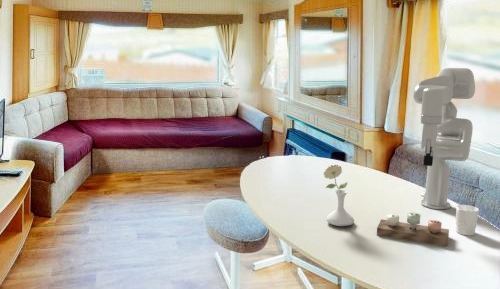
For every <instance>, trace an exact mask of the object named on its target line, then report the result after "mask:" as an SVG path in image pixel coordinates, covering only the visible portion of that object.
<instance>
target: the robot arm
mask: <svg viewBox="0 0 500 289" xmlns="http://www.w3.org/2000/svg"><path fill="white" fill-rule="evenodd" d="M475 93H476V83H475V76H474V73H473V71H472V70H471V69H470V68H466V67H465V68H464V67H447V68H443V69H441V70H440V71H439V72H437V75H436V76H433V77H431V78H426V79H424V80H421V81H420V82H419V83H417V85H416V86H415V88H414V90H413V100H414V102H415V103H416V104H421V113H420V124H421V125H423V126H422V129H421V130H422V132H421V142H420V149H421V150H423V149H424V155H423V166H424V167H425V166H427V168H426V169H427V171H426V182H425V191H423V192H421V193H420V196H421V197H422V199H421V201H420V204H421V205H422V206H423V207H425V208H428V209H434V210H448V209H450V208H451V203H450V202H449V201H448V194H449V186H450V185H449V184H450V174H451V173H450V172H451V170H450V169H451V168H450V166H449V164H448V163H447V162H446V161H453V162H465V161H467V160H468V159H469V155H470V152H471V151H470V150H471V146H472V145H471V144H472V138H473V127H474V126H473V122H472V121H471V120H470V119H468V118H459V117H458V118H457V116H458V109H457V106H456V105H455V104H454V102H452V99H454V100H455V99H457V100H470V99H472V98H473V97H474V95H475Z"/></svg>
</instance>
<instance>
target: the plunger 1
mask: <svg viewBox="0 0 500 289" xmlns="http://www.w3.org/2000/svg"><path fill="white" fill-rule="evenodd" d="M386 220H387V221H386V223H387V224H388V225H391V226H392V227H394V226H397V225H399V222H400V216H399V215H397V214H396V213H395V214H394V213H393V214H392V213H389V214H387V215H386Z"/></svg>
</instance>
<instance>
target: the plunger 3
mask: <svg viewBox="0 0 500 289" xmlns="http://www.w3.org/2000/svg"><path fill="white" fill-rule="evenodd" d="M427 223H428V224H427V226H428V230H429V231H432V233H436V232H441V228H442V222H441V221H440V220H435V219H430V220H428V221H427Z"/></svg>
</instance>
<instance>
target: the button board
mask: <svg viewBox="0 0 500 289" xmlns="http://www.w3.org/2000/svg"><path fill="white" fill-rule="evenodd" d="M386 221H387V219H382V218H381V219H380V221H379V223H378V226H376V236H378V237H386V238H392V239H399V240H404V241H409V242H410V241H411V242H416V243H423V244H428V245H434V244H435V246H440V245H442V247H446V246H447V247H449V236H450V234H449V233H450V229H449V228H443V227H441V232H436V233H432V231H429V230H428V225H421V224H415V230H412V229H411V224H410V223H408V222H403V221H402V222H401V221H399V225H397V226H394V227H392V226H391V225H388V224H387V223H386Z"/></svg>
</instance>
